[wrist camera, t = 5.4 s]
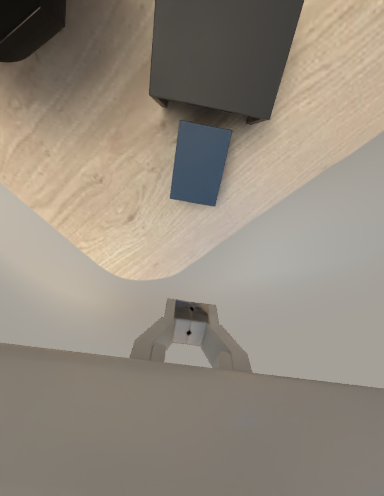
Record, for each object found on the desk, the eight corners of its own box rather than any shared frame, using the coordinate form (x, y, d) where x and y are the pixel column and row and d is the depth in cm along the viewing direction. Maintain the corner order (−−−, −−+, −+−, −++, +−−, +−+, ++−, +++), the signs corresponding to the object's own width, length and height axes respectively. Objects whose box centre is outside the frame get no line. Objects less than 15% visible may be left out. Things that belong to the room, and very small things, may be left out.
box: (226, 132, 30) (232, 130, 25) (212, 196, 34) (215, 206, 29) (182, 123, 29) (179, 119, 24) (173, 190, 33) (169, 198, 28)
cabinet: (279, 15, 24) (315, -40, 17) (250, 125, 29) (269, 119, 22) (172, -10, 24) (160, -80, 16) (161, 106, 29) (148, 94, 21)
